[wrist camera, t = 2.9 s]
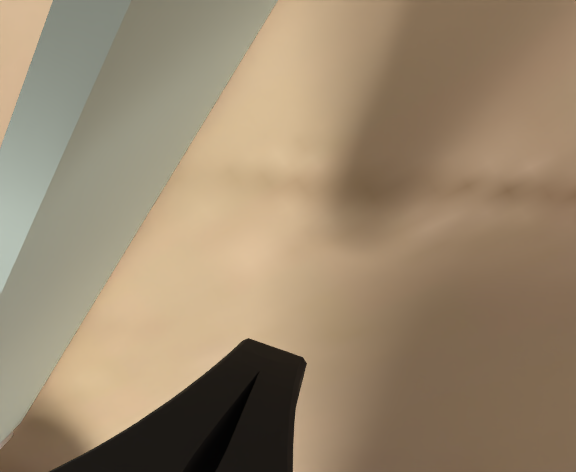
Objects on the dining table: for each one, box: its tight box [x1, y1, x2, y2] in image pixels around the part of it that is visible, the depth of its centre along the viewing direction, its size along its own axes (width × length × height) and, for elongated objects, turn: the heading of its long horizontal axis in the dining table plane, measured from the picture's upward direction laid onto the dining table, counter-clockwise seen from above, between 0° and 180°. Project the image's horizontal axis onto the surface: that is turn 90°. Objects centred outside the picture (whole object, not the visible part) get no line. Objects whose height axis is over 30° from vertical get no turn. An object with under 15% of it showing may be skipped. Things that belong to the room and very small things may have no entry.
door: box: [0, 0, 278, 449], centre depth 13 cm, size 19×1×5 cm, turn 145°
